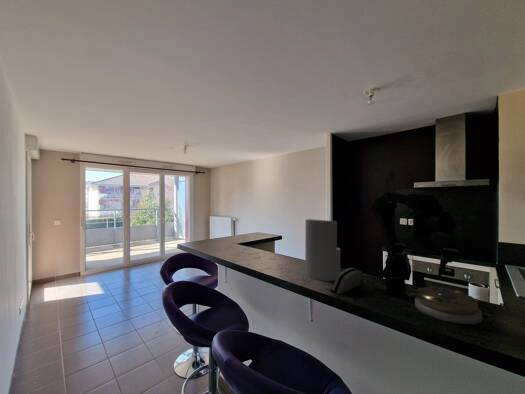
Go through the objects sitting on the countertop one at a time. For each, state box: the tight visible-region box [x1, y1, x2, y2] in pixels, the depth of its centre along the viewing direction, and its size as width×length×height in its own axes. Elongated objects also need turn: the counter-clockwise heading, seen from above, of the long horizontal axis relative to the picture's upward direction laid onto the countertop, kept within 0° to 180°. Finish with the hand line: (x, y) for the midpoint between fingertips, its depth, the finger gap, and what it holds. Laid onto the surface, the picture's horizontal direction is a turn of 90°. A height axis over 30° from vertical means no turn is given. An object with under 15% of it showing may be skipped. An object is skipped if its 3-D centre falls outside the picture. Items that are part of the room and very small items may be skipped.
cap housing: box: [414, 295, 483, 325], centre depth 81 cm, size 18×18×2 cm
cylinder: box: [304, 218, 341, 282], centre depth 121 cm, size 17×17×28 cm
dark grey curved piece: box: [328, 267, 363, 295], centre depth 102 cm, size 17×5×10 cm, turn 131°
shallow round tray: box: [417, 285, 479, 315], centre depth 81 cm, size 16×16×7 cm
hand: (422, 276), depth 81 cm, fingers open, 8 cm apart
